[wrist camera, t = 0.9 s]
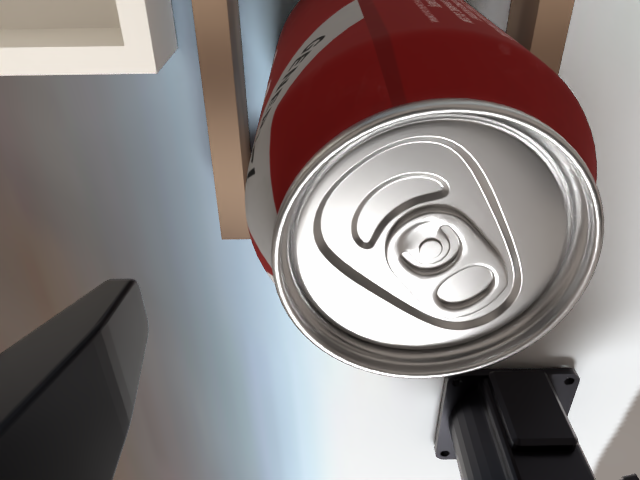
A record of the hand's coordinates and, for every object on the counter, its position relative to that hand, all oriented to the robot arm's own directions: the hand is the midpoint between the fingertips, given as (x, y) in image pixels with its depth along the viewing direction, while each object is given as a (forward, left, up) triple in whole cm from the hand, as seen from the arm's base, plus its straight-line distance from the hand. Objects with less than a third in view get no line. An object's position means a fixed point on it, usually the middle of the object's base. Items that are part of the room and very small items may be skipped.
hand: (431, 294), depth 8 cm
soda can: (0, 0, -13) cm, 13 cm away
